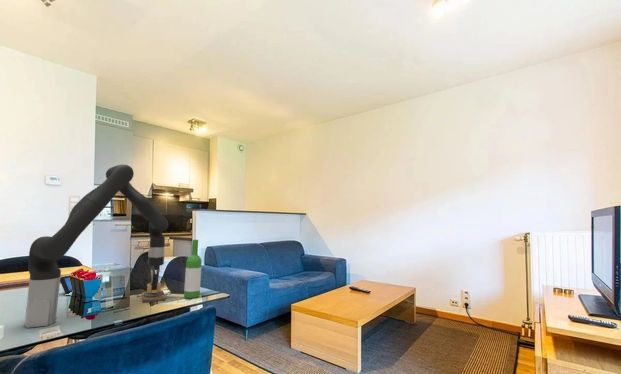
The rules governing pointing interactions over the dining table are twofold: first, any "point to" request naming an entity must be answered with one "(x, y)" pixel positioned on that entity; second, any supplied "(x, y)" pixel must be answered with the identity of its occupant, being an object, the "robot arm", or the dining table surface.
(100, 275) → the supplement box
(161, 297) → the bobbin stand
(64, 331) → the dining table surface
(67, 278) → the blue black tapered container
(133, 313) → the dining table surface
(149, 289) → the brown ribbed pot
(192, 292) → the wine bottle
